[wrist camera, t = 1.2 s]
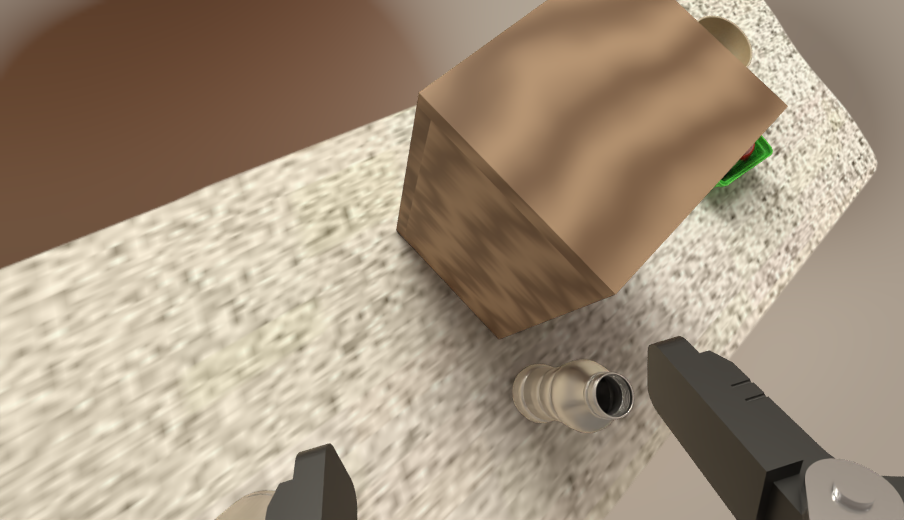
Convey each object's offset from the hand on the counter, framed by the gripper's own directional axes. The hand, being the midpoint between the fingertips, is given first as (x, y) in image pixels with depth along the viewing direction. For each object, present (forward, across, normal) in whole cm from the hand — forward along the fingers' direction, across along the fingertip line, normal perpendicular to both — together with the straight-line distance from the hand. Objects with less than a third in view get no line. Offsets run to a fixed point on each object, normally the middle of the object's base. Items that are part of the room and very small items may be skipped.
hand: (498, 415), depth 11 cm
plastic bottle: (+32, +7, -36) cm, 48 cm away
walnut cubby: (+46, +11, -21) cm, 52 cm away
